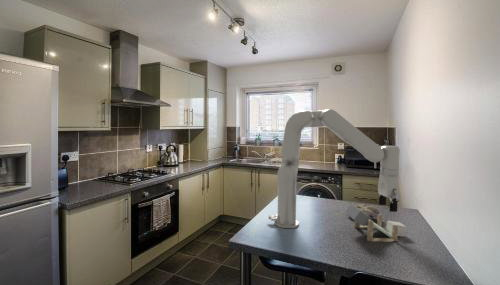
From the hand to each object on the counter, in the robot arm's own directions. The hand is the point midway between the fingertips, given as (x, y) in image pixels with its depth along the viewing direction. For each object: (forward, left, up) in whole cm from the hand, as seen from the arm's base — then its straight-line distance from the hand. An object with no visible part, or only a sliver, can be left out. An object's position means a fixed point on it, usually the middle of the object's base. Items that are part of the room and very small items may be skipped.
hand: (387, 207), depth 119 cm
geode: (-2, +21, -13) cm, 25 cm away
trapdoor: (-9, 0, -9) cm, 13 cm away
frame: (-5, 0, -13) cm, 14 cm away
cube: (+1, 0, -10) cm, 10 cm away
